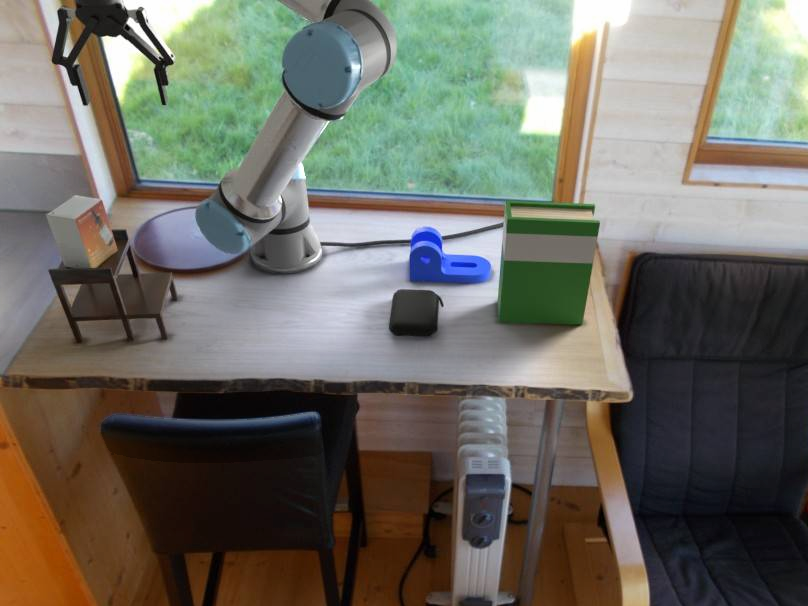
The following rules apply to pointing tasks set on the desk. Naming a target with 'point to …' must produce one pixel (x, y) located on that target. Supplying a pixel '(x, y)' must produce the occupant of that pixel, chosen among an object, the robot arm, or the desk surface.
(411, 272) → the bracket
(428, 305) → the carrying case
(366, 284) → the desk surface
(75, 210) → the small box
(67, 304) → the rack
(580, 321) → the hardback book
